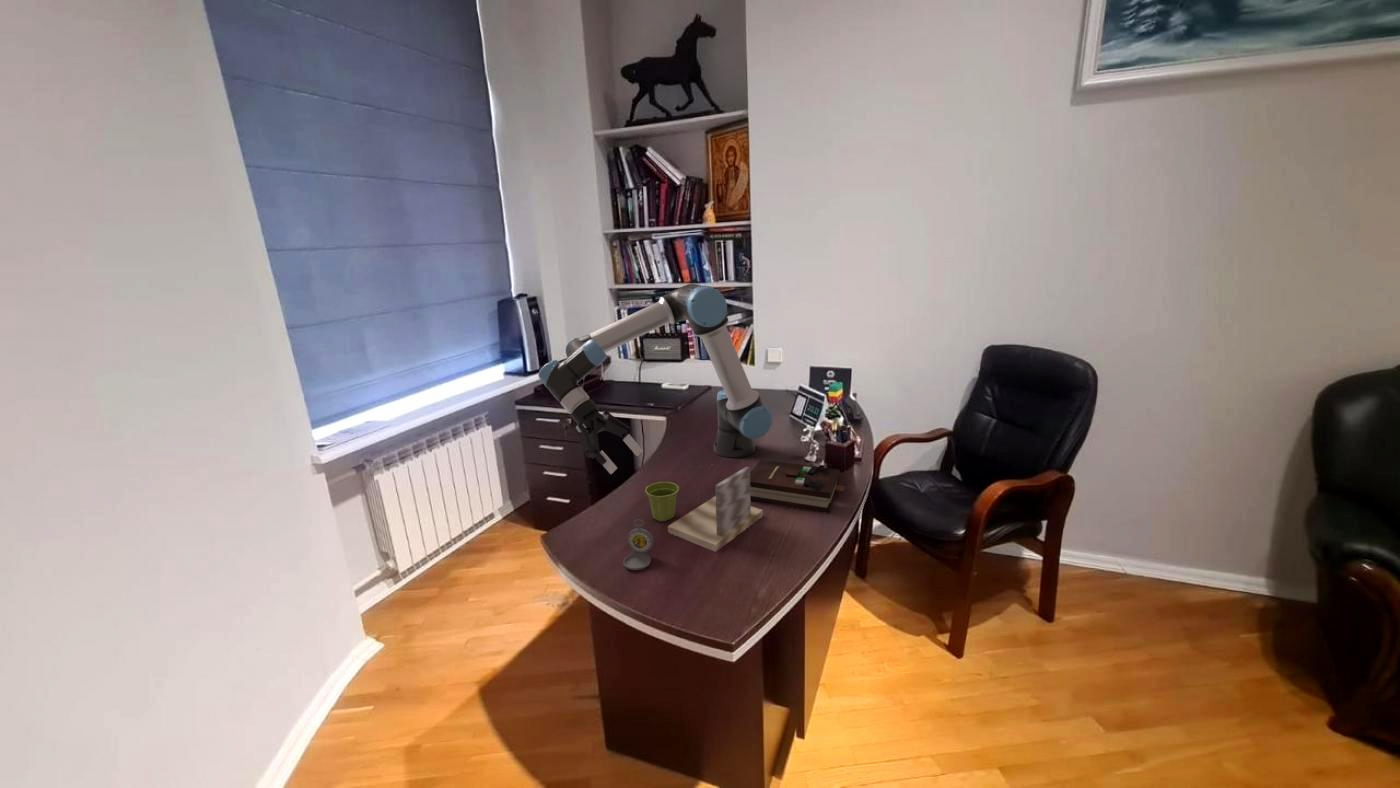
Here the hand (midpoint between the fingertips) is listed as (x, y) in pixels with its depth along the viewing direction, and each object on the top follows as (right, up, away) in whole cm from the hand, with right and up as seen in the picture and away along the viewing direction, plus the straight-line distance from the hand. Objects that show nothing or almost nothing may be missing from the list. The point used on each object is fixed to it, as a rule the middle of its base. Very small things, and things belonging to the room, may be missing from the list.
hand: (627, 462), depth 155 cm
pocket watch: (+6, -22, -21) cm, 31 cm away
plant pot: (+10, -16, 0) cm, 19 cm away
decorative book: (+49, -12, +10) cm, 51 cm away
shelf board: (+25, -16, -6) cm, 31 cm away
